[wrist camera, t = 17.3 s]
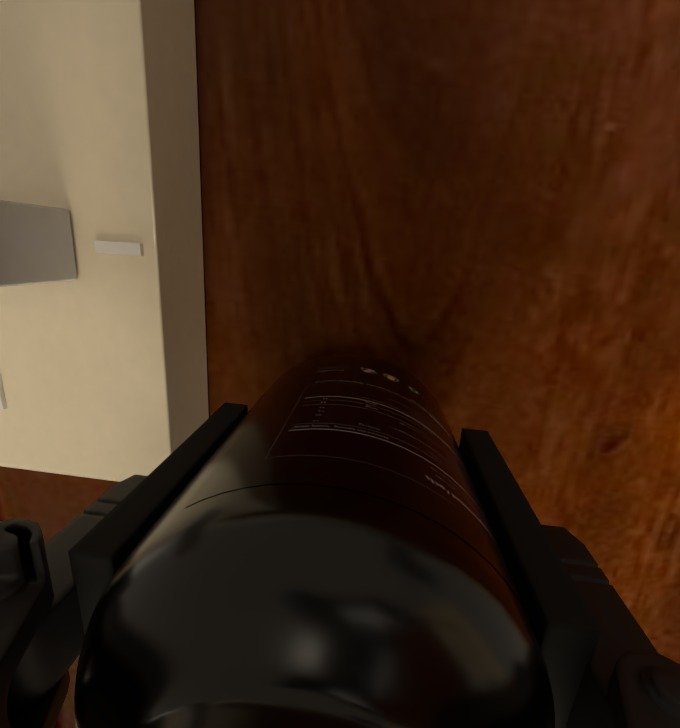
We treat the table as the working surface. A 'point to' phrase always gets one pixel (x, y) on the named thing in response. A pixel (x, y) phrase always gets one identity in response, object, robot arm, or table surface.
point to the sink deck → (104, 236)
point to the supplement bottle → (320, 578)
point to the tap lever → (35, 244)
